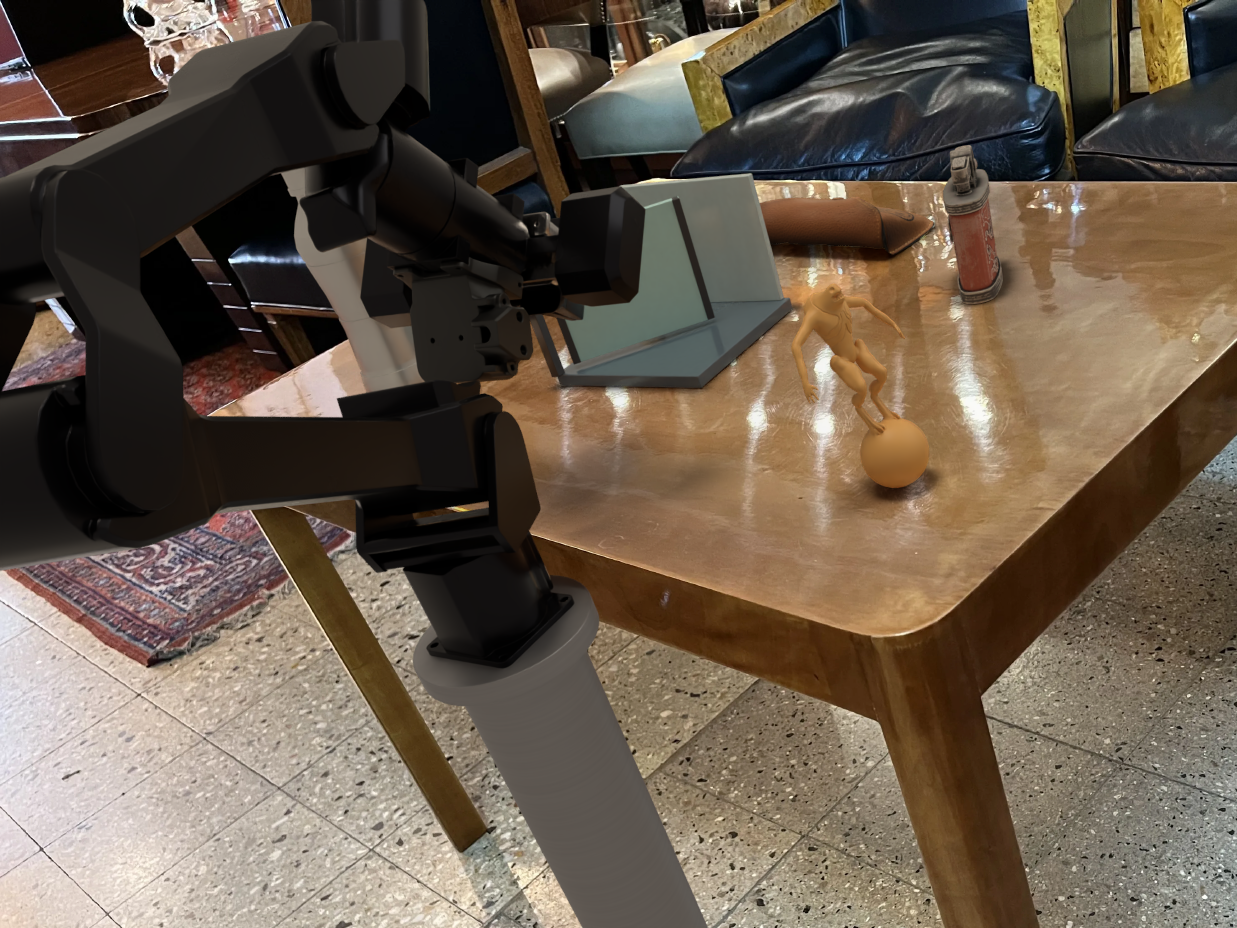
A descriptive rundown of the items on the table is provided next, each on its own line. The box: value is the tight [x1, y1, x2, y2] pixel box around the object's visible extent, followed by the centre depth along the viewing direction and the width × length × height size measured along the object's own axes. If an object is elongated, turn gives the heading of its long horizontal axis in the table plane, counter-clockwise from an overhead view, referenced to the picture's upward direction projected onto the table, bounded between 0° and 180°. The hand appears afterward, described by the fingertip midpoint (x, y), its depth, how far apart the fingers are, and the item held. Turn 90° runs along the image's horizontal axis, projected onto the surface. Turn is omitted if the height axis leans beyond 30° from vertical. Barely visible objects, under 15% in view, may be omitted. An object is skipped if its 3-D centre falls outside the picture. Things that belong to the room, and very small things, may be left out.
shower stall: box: [529, 173, 793, 389], centre depth 92 cm, size 14×14×11 cm
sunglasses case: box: [759, 196, 935, 256], centre depth 107 cm, size 18×7×7 cm, turn 52°
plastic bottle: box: [280, 168, 425, 393], centre depth 91 cm, size 6×7×20 cm
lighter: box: [942, 144, 1004, 305], centre depth 89 cm, size 8×3×10 cm, turn 172°
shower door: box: [555, 196, 715, 365], centre depth 92 cm, size 1×12×10 cm, turn 107°
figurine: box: [790, 283, 930, 489], centre depth 66 cm, size 8×6×12 cm
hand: (579, 313), depth 79 cm, fingers closed
